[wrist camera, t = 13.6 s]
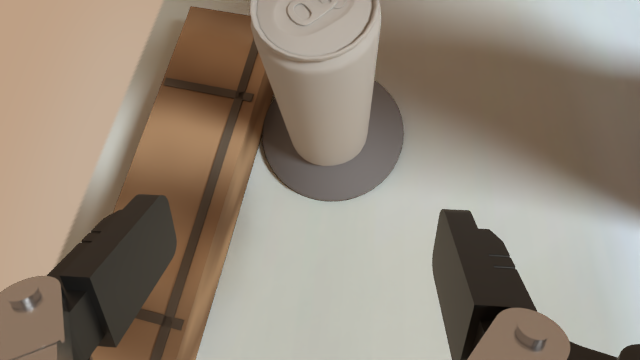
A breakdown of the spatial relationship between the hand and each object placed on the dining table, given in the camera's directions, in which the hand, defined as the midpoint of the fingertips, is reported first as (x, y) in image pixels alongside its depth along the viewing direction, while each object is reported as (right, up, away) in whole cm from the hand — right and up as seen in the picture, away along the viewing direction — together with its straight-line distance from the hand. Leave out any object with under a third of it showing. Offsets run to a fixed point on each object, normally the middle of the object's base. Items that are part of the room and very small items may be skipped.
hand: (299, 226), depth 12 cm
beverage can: (+1, +4, +14) cm, 15 cm away
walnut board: (-7, 0, +13) cm, 15 cm away
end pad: (+1, +4, +14) cm, 15 cm away
